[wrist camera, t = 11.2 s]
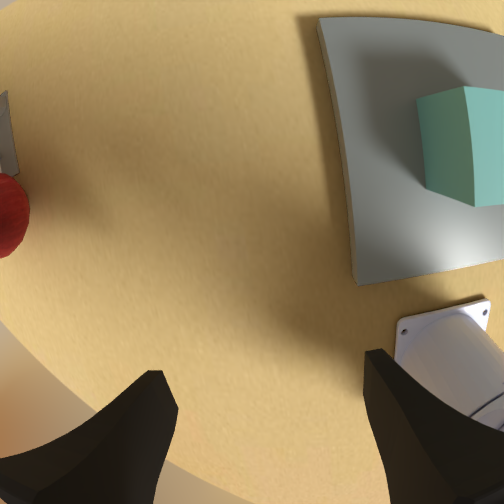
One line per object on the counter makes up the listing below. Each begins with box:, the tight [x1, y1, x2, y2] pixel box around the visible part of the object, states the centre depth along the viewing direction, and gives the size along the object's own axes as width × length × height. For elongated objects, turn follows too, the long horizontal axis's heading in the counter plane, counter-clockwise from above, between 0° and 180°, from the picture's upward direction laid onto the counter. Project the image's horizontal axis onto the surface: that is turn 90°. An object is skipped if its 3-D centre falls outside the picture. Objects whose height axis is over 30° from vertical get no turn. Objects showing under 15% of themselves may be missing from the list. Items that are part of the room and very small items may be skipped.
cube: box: [416, 86, 504, 207], centre depth 12 cm, size 5×5×5 cm
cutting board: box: [316, 17, 504, 286], centre depth 15 cm, size 15×14×2 cm
